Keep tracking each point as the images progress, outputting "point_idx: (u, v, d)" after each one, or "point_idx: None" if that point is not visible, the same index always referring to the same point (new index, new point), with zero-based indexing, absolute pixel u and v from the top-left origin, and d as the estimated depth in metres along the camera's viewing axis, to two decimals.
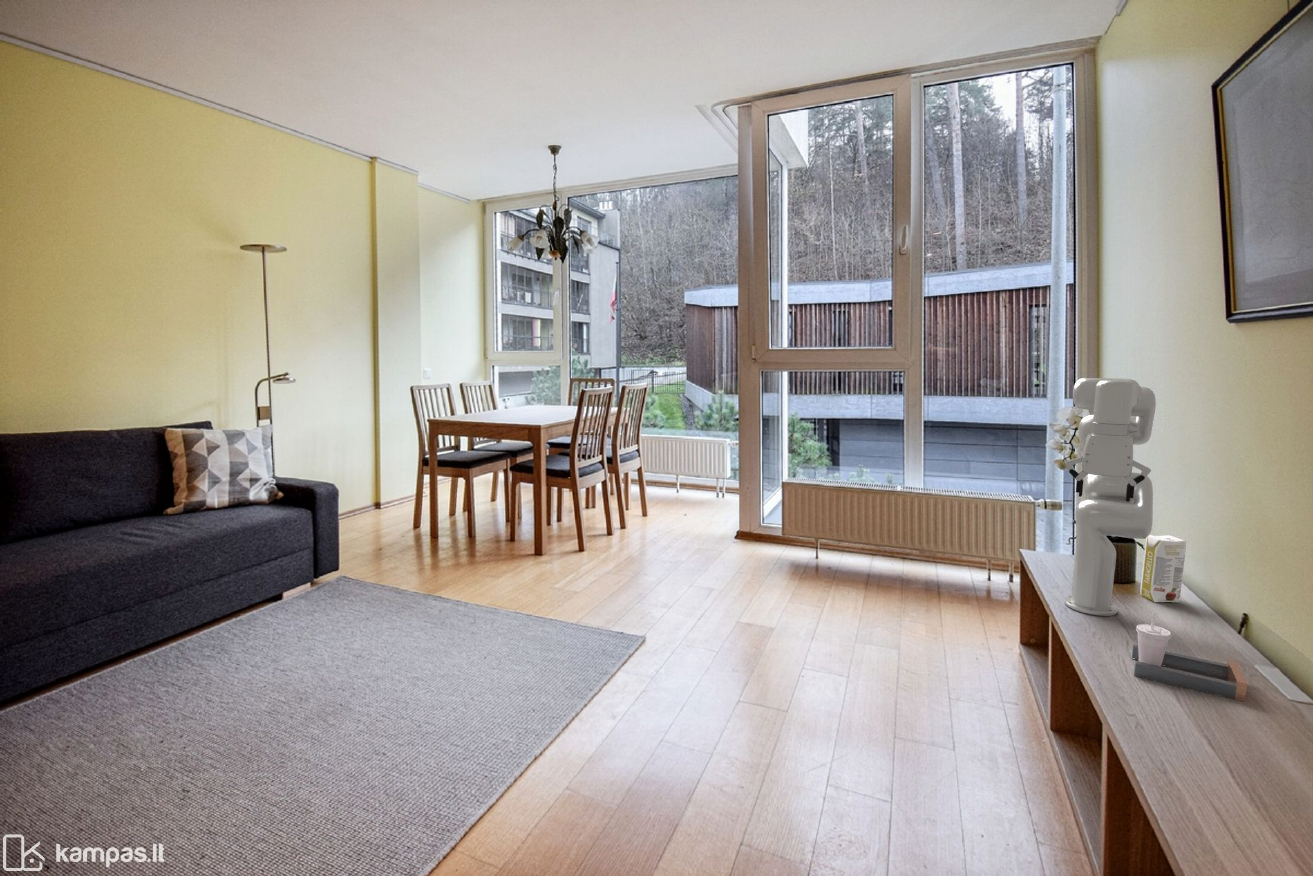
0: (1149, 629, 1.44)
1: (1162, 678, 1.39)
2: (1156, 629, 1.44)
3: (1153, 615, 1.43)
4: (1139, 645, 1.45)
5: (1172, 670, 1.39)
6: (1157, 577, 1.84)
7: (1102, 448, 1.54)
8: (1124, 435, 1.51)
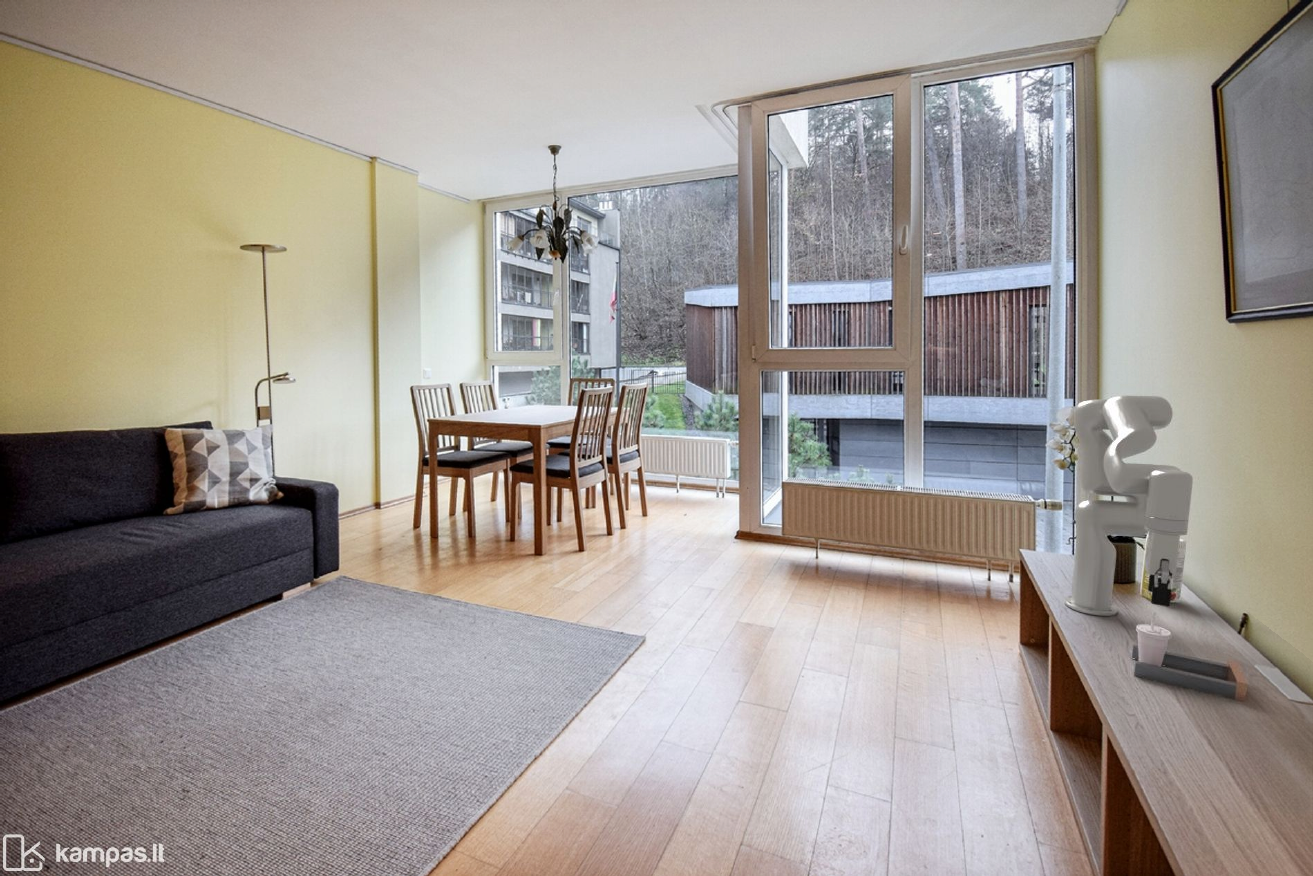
0: (1149, 629, 1.44)
1: (1162, 678, 1.39)
2: (1156, 629, 1.44)
3: (1153, 615, 1.43)
4: (1139, 645, 1.45)
5: (1172, 670, 1.39)
6: None
7: None
8: None
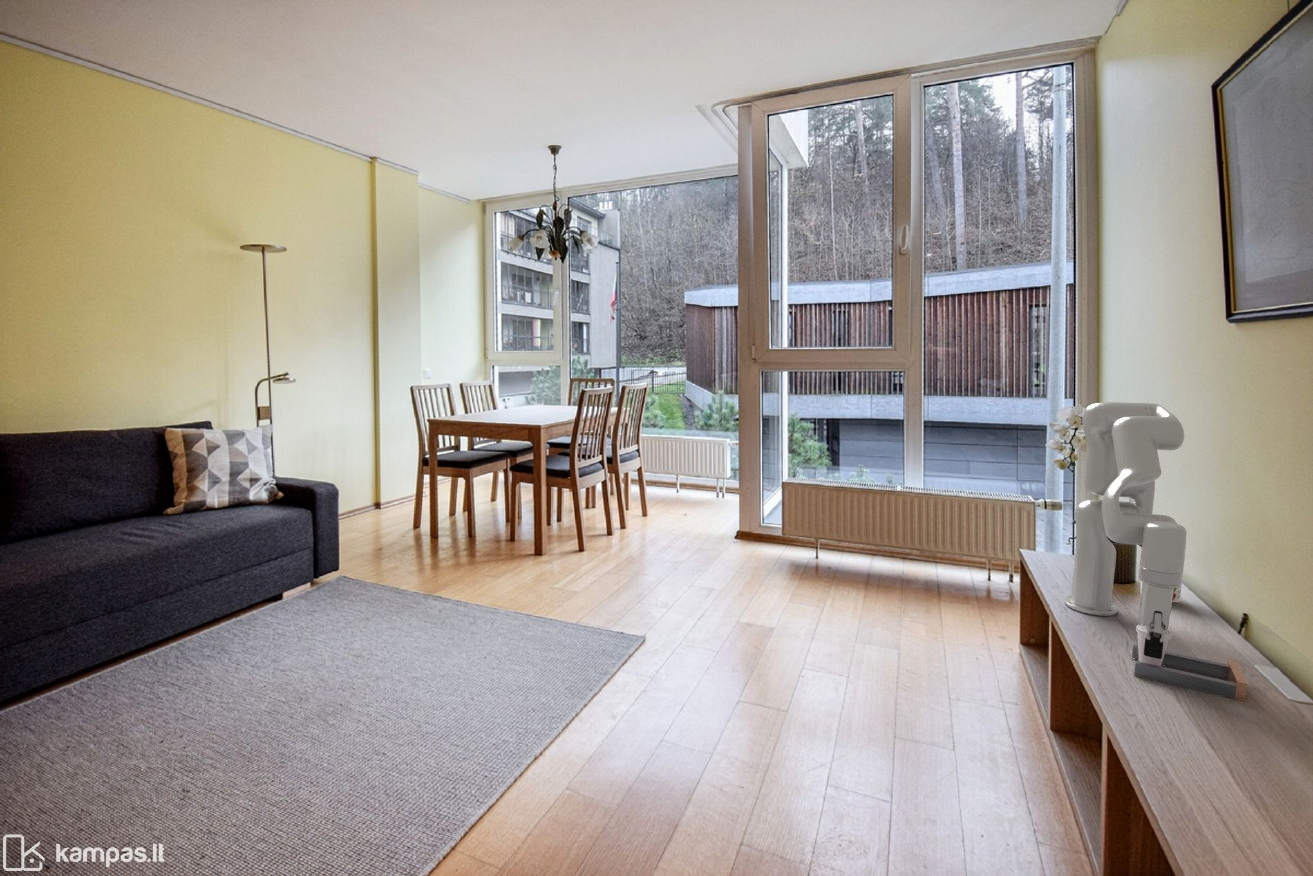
0: None
1: (1162, 678, 1.39)
2: None
3: None
4: (1139, 645, 1.45)
5: (1172, 670, 1.39)
6: None
7: None
8: None
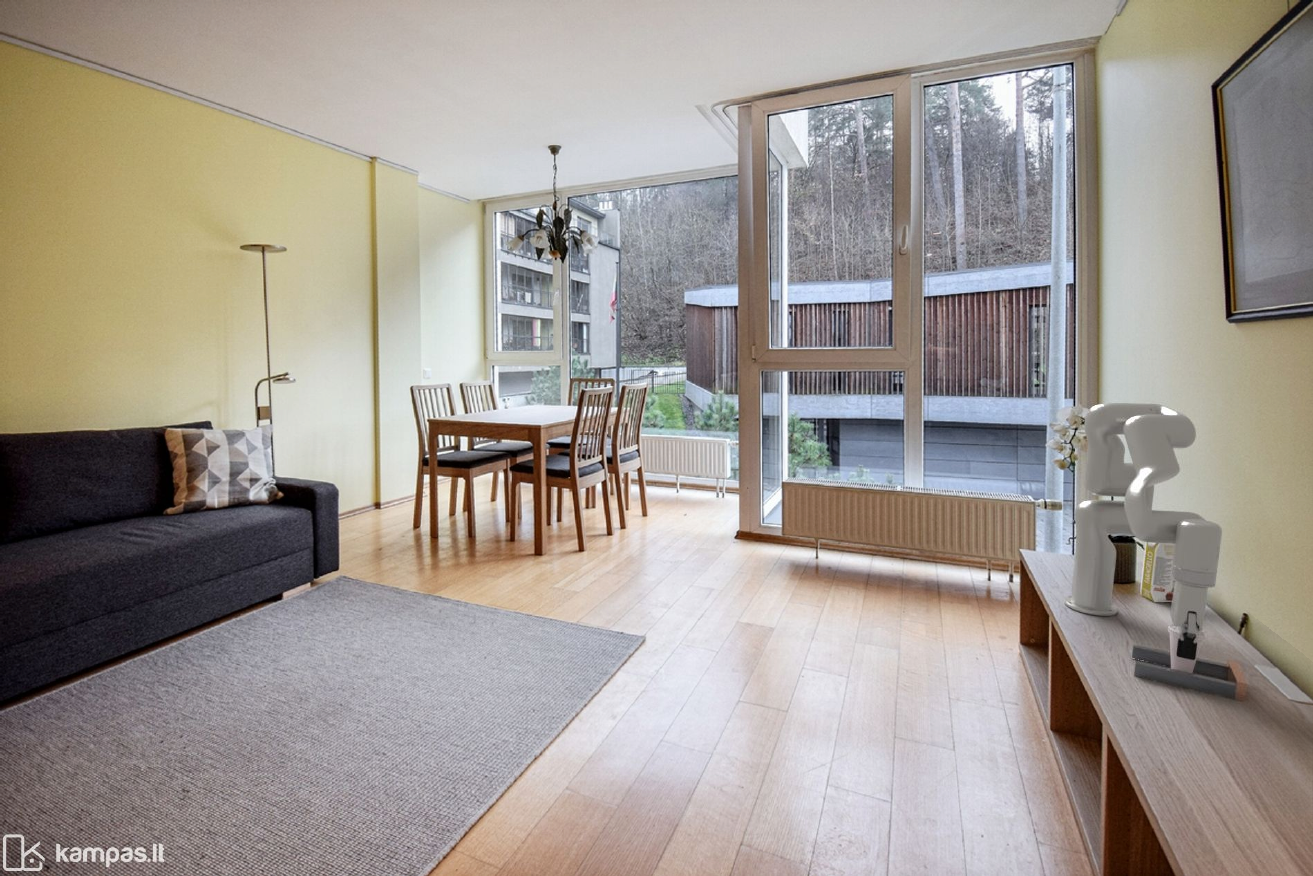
0: None
1: (1162, 678, 1.39)
2: None
3: None
4: (1171, 646, 1.42)
5: (1172, 670, 1.39)
6: (1156, 577, 1.84)
7: None
8: None
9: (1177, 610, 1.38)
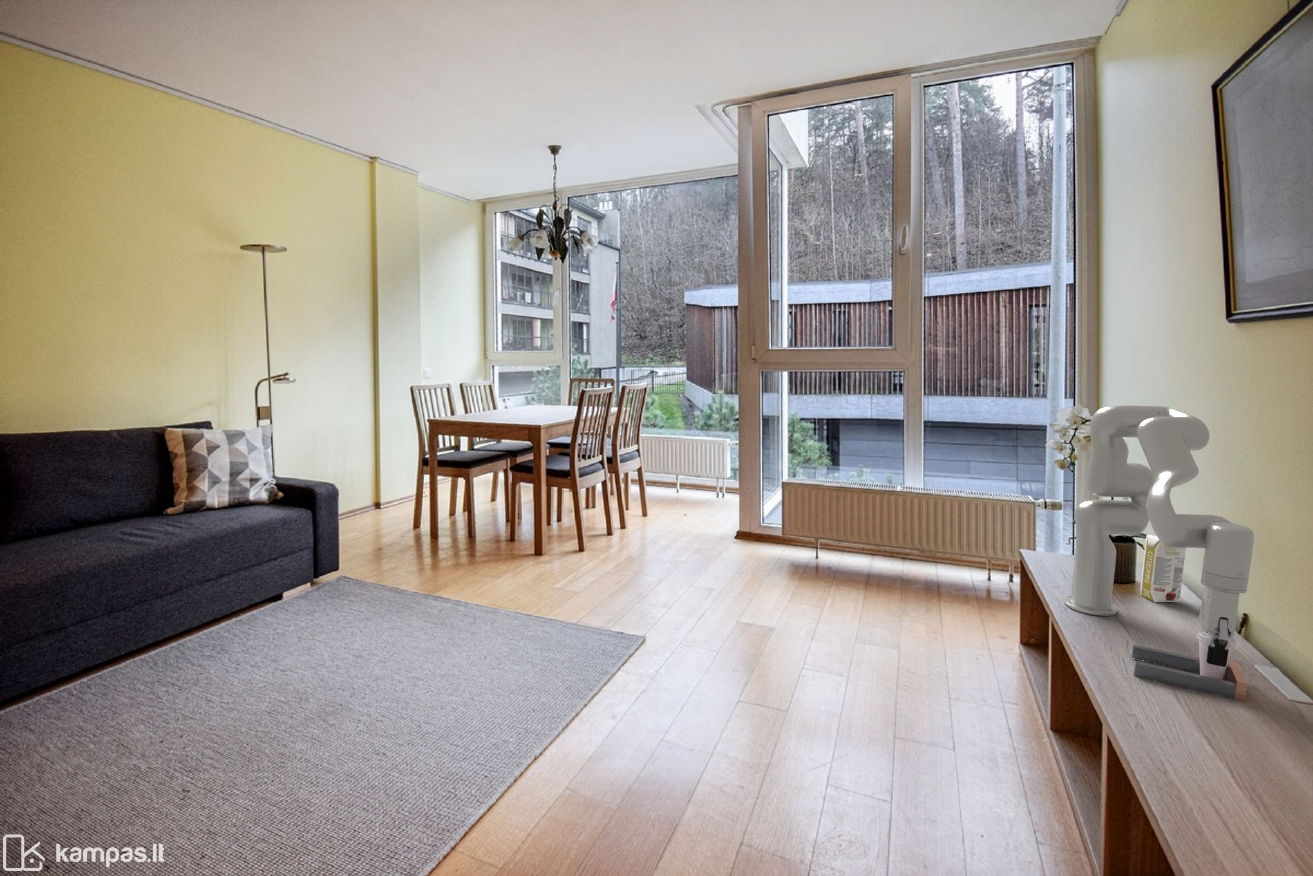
0: None
1: (1162, 678, 1.39)
2: None
3: None
4: (1201, 652, 1.39)
5: (1172, 670, 1.39)
6: (1156, 577, 1.84)
7: None
8: None
9: (1208, 616, 1.35)
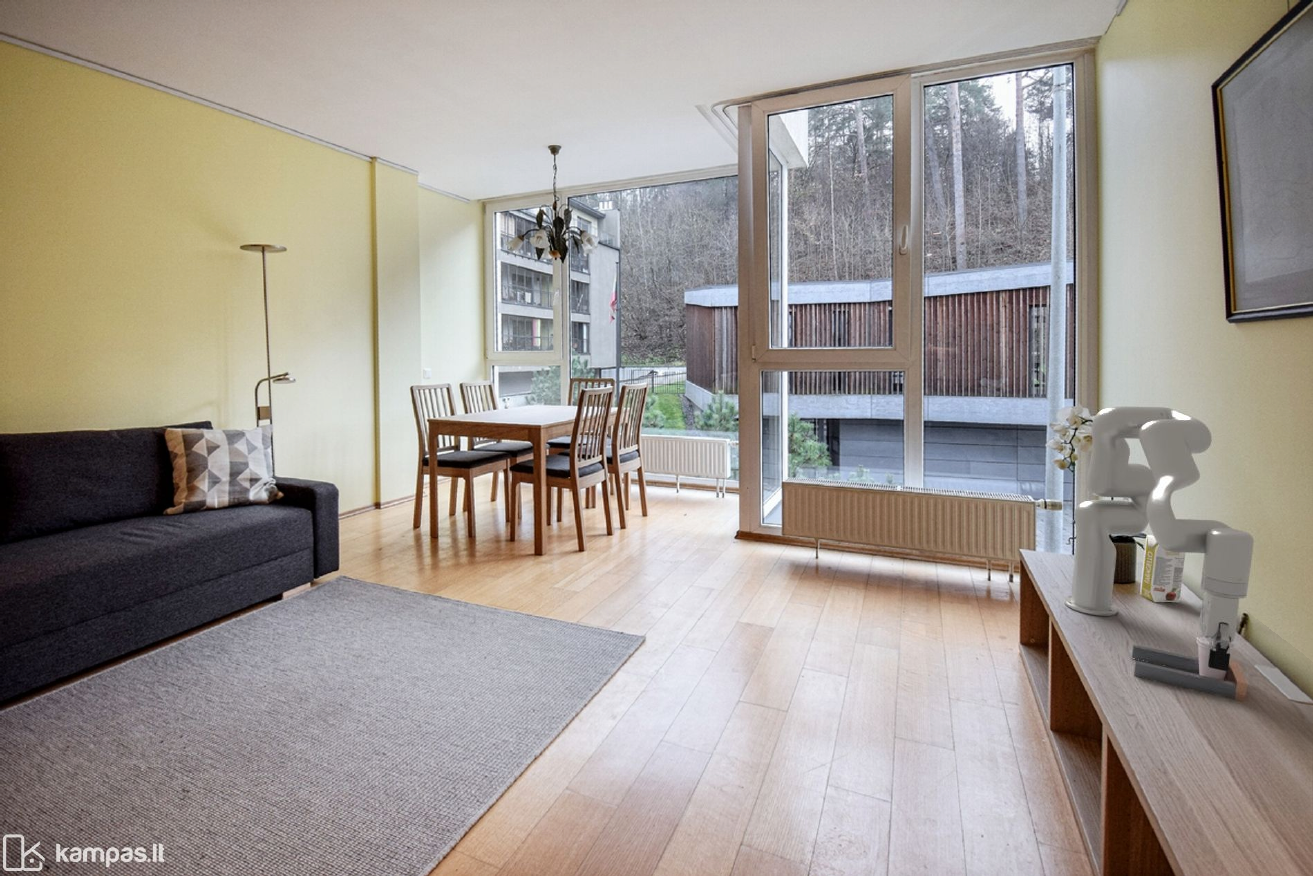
0: (1211, 641, 1.38)
1: (1162, 678, 1.39)
2: (1218, 641, 1.38)
3: None
4: (1200, 658, 1.39)
5: (1172, 670, 1.39)
6: (1156, 577, 1.84)
7: None
8: None
9: (1208, 621, 1.35)
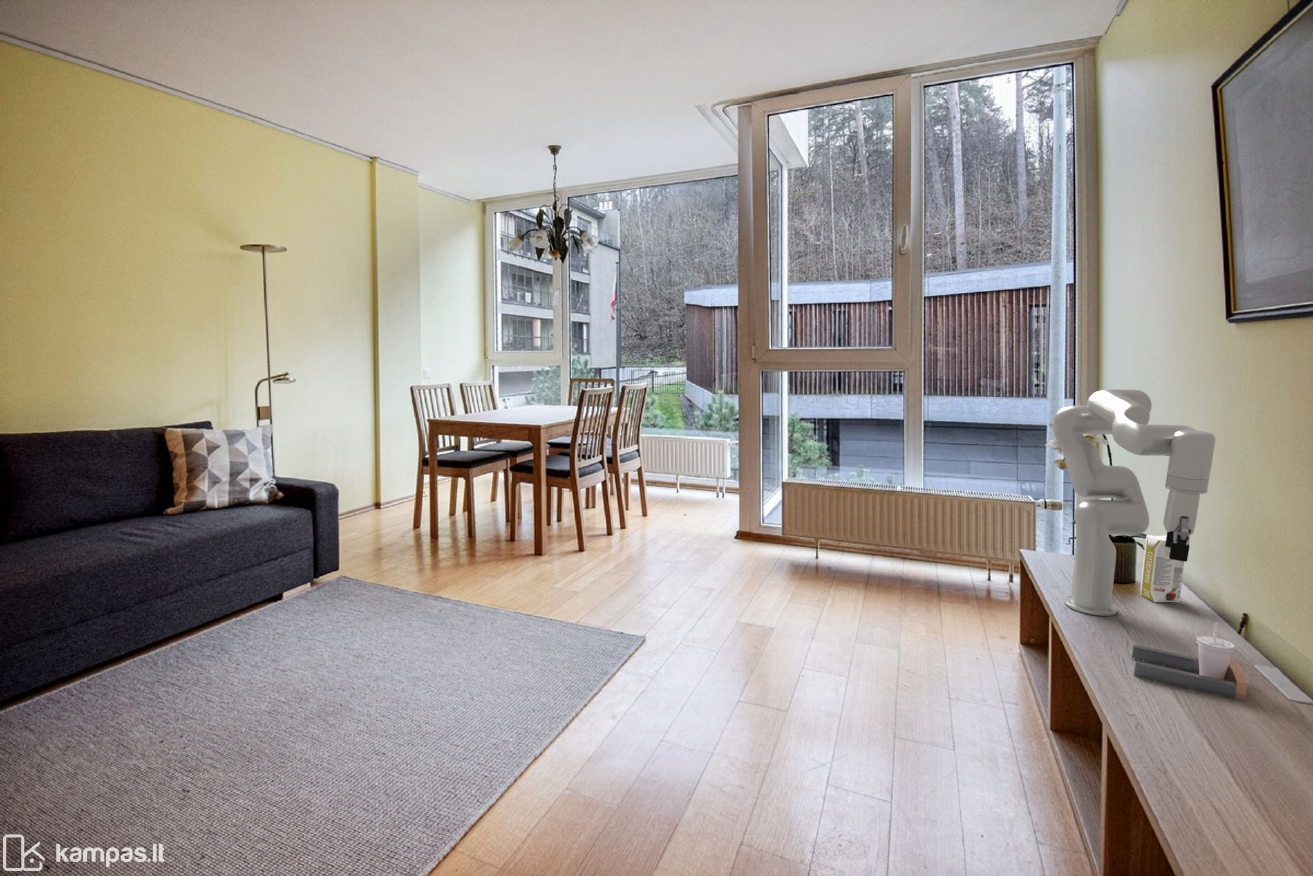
0: (1211, 641, 1.38)
1: (1162, 678, 1.39)
2: (1218, 641, 1.38)
3: (1215, 626, 1.37)
4: (1200, 658, 1.39)
5: (1172, 670, 1.39)
6: (1156, 577, 1.84)
7: None
8: None
9: (1170, 516, 1.44)
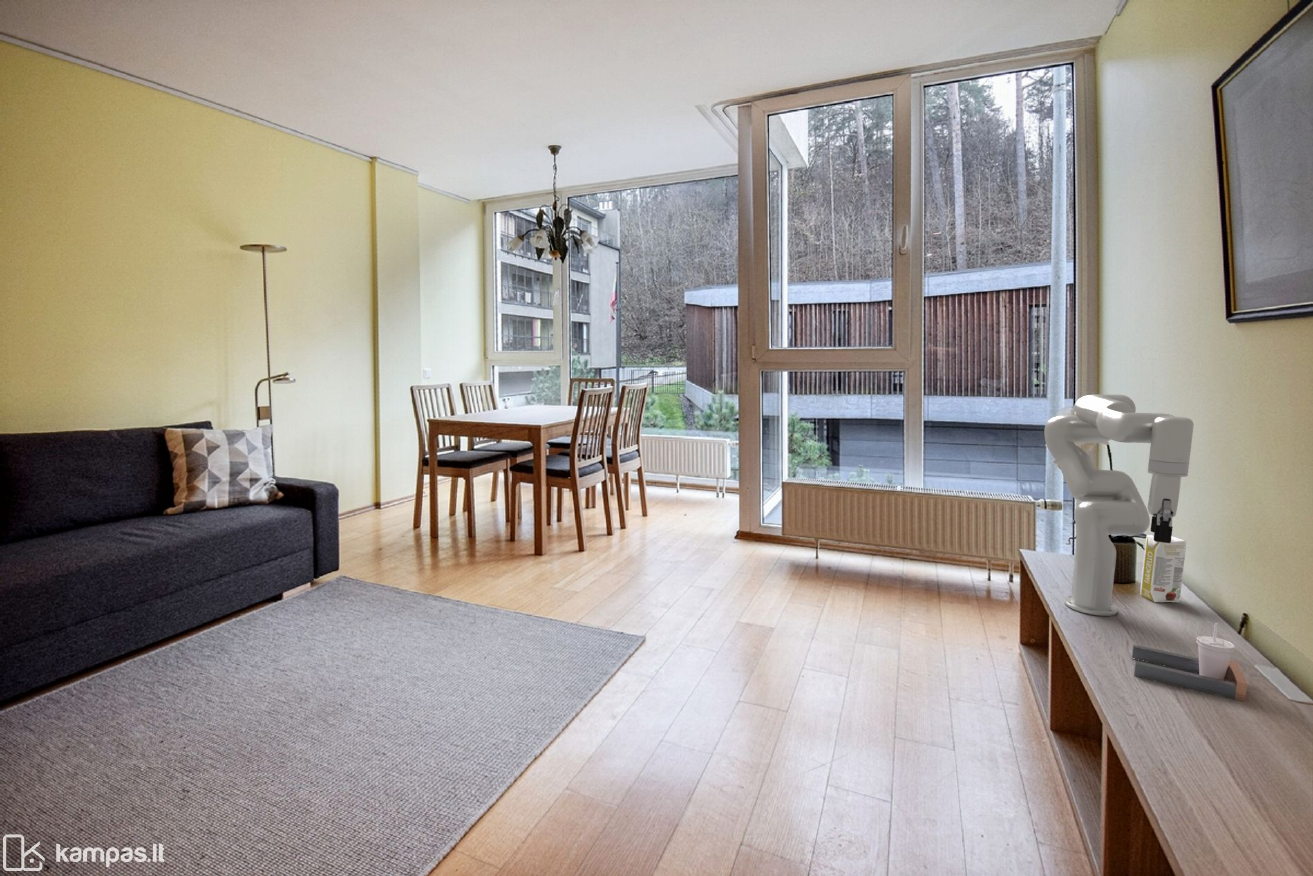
0: (1211, 641, 1.38)
1: (1162, 678, 1.39)
2: (1218, 641, 1.38)
3: (1215, 626, 1.37)
4: (1200, 658, 1.39)
5: (1172, 670, 1.39)
6: (1156, 577, 1.84)
7: None
8: None
9: (1153, 499, 1.49)
